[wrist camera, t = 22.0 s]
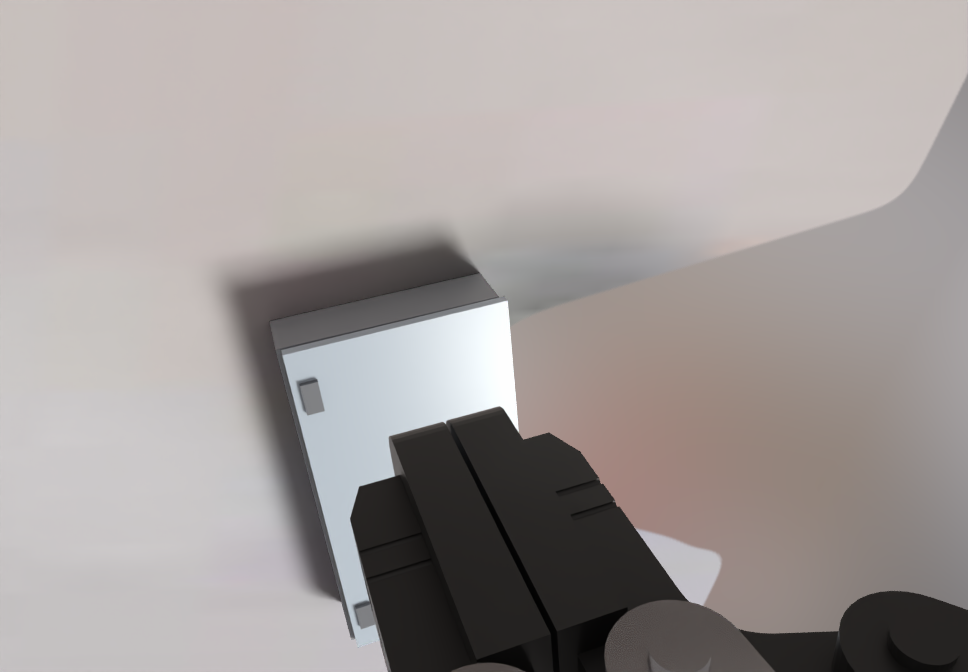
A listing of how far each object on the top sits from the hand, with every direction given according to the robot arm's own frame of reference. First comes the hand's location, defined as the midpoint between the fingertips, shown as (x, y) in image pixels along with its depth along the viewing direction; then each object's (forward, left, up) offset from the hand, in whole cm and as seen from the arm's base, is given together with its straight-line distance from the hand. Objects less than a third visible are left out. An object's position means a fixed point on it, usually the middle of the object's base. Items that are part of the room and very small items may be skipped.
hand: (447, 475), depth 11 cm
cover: (+4, -27, -31) cm, 42 cm away
